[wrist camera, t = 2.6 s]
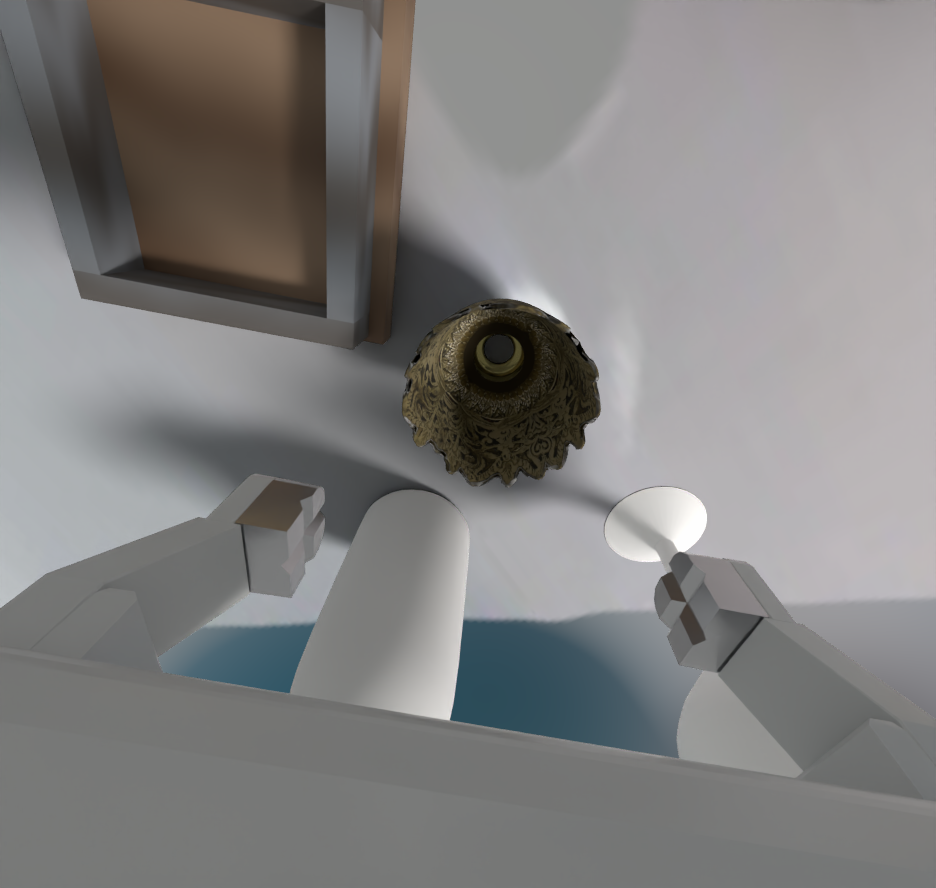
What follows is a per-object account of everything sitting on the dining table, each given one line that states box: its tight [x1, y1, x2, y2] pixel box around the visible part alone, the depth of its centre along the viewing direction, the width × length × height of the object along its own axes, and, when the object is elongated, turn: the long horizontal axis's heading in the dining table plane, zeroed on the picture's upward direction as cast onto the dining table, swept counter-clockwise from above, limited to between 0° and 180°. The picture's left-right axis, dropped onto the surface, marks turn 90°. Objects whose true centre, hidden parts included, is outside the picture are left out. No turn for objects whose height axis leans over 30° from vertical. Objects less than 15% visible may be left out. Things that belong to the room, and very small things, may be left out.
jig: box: [0, 0, 415, 350], centre depth 16 cm, size 17×14×4 cm
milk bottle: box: [290, 489, 470, 720], centre depth 20 cm, size 8×8×20 cm
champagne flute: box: [604, 487, 804, 778], centre depth 17 cm, size 7×7×24 cm
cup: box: [402, 299, 601, 488], centre depth 18 cm, size 8×7×8 cm
